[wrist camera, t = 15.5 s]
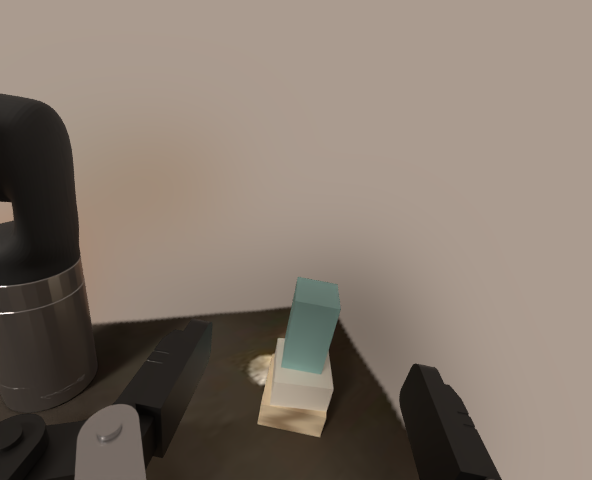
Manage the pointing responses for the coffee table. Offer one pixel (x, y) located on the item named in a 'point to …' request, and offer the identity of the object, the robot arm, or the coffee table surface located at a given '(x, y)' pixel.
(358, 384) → the coffee table surface
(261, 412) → the tower base block
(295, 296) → the teal block
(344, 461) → the coffee table surface
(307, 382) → the tower top block
